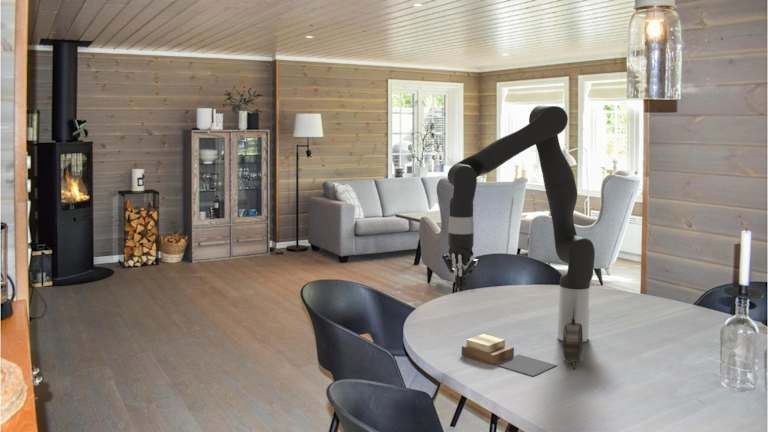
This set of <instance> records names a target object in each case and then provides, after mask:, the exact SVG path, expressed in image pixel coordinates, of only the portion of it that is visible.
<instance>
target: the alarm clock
mask: <svg viewBox="0 0 768 432" xmlns="http://www.w3.org/2000/svg"><path fill="white" fill-rule="evenodd" d="M582 339H583V338H582V325H581V323H575V319H574V309H573V318H572V323H567V324H566V325H565V327H564V333H563V341H562V344H561V347H562V350H563V357H564V361H563V363H565V362H568V363H569V362H570V363H572V366H573V368H572V370H576V364H577V363H582V361H583V350H584V349H583V345H584V342H583V340H582Z"/></svg>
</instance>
